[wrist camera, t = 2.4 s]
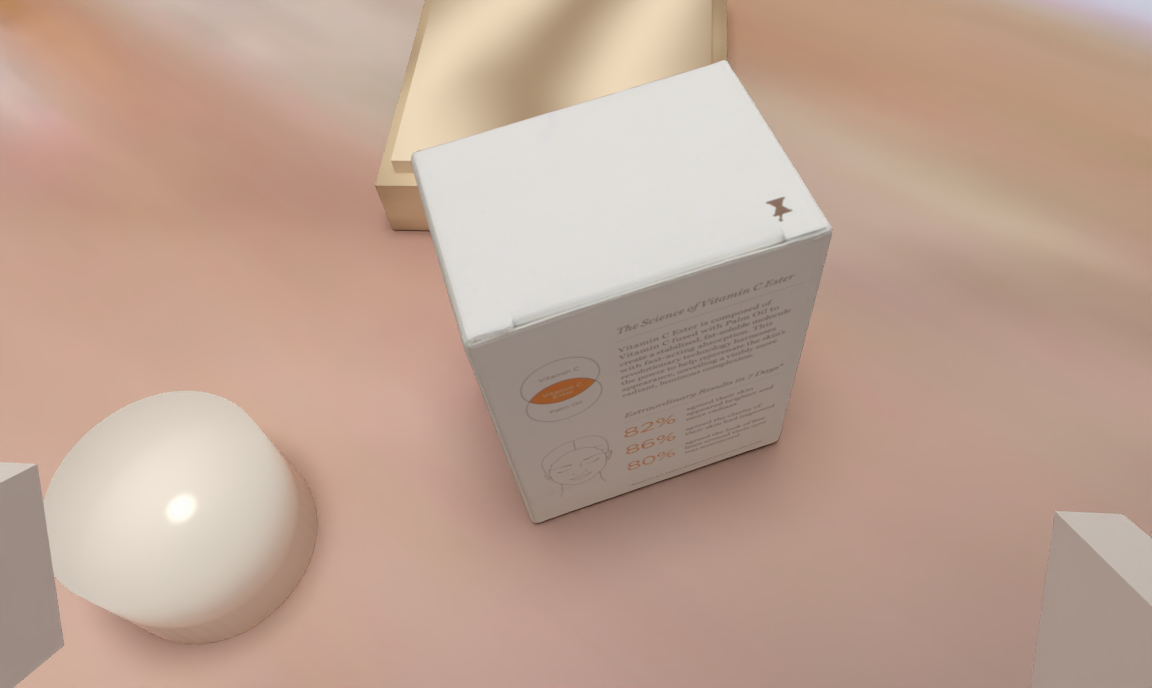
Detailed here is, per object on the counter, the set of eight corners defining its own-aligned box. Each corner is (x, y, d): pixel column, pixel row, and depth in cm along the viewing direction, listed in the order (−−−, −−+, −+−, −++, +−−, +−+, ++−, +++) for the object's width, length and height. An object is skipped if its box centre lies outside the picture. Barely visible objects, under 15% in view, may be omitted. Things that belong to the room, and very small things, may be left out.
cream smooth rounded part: (339, 456, 27) (293, 395, 24) (287, 653, 24) (227, 614, 21) (161, 446, 28) (93, 386, 25) (89, 635, 25) (-1, 596, 22)
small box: (712, 303, 29) (735, 49, 20) (782, 446, 26) (845, 224, 17) (482, 375, 29) (402, 144, 20) (529, 531, 26) (460, 342, 17)
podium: (722, 12, 37) (727, -53, 34) (723, 235, 31) (728, 176, 28) (446, 15, 38) (431, -46, 36) (393, 229, 32) (370, 173, 30)
